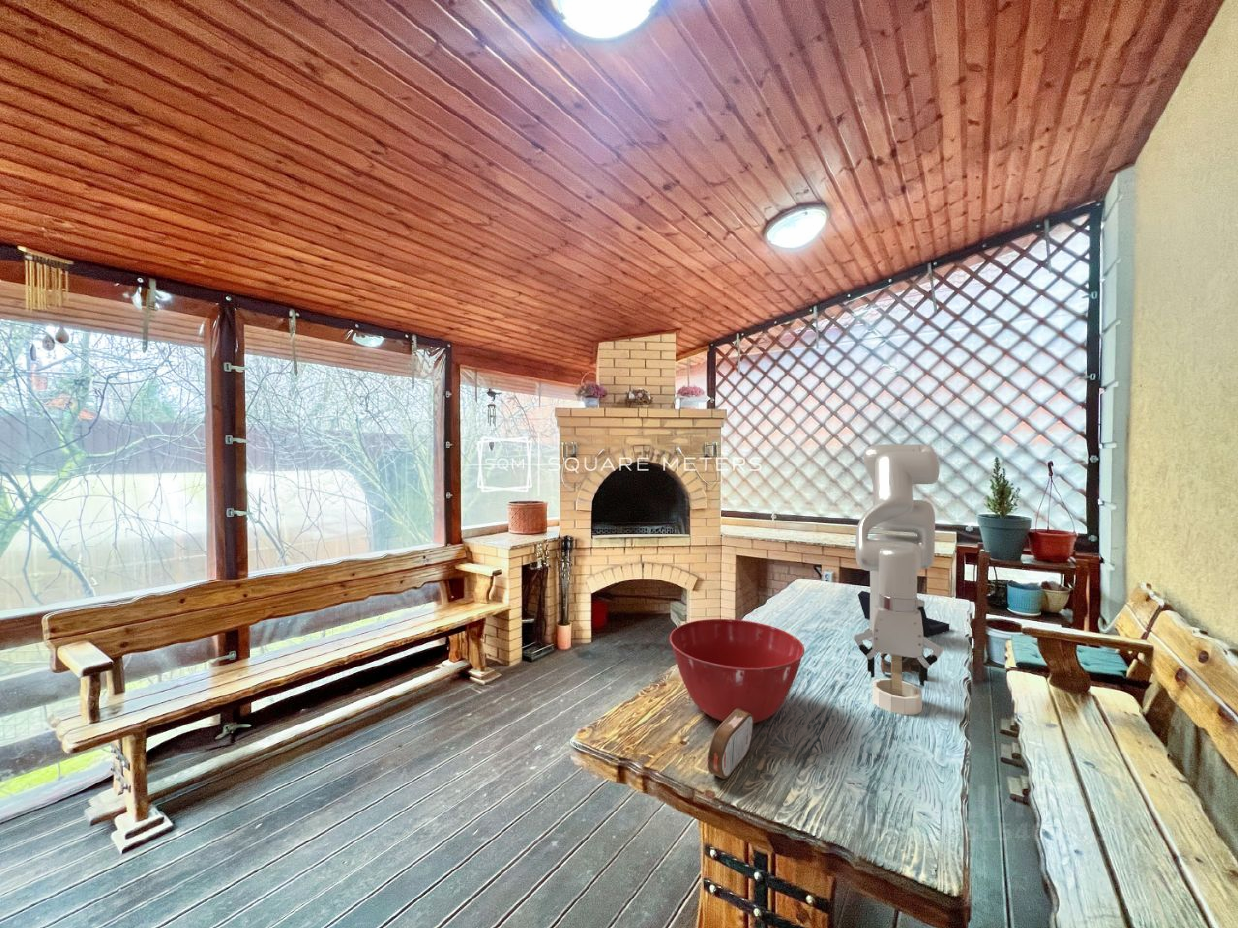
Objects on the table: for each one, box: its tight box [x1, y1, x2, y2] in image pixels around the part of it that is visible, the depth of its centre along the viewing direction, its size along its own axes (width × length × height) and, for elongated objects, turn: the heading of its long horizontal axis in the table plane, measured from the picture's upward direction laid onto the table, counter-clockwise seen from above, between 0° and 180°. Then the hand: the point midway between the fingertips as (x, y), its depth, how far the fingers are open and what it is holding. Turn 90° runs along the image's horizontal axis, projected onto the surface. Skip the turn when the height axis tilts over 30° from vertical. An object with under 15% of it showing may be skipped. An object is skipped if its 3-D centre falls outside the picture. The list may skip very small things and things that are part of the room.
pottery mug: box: [880, 653, 920, 675], centre depth 129 cm, size 12×9×8 cm
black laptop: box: [857, 590, 950, 639], centre depth 166 cm, size 21×16×10 cm
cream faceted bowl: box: [871, 678, 923, 716], centre depth 114 cm, size 10×10×4 cm
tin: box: [707, 708, 754, 780], centre depth 91 cm, size 15×3×8 cm, turn 144°
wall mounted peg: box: [886, 655, 908, 697], centre depth 114 cm, size 4×4×10 cm
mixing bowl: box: [669, 618, 805, 725], centre depth 111 cm, size 28×28×16 cm
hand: (896, 679), depth 114 cm, fingers open, 9 cm apart
